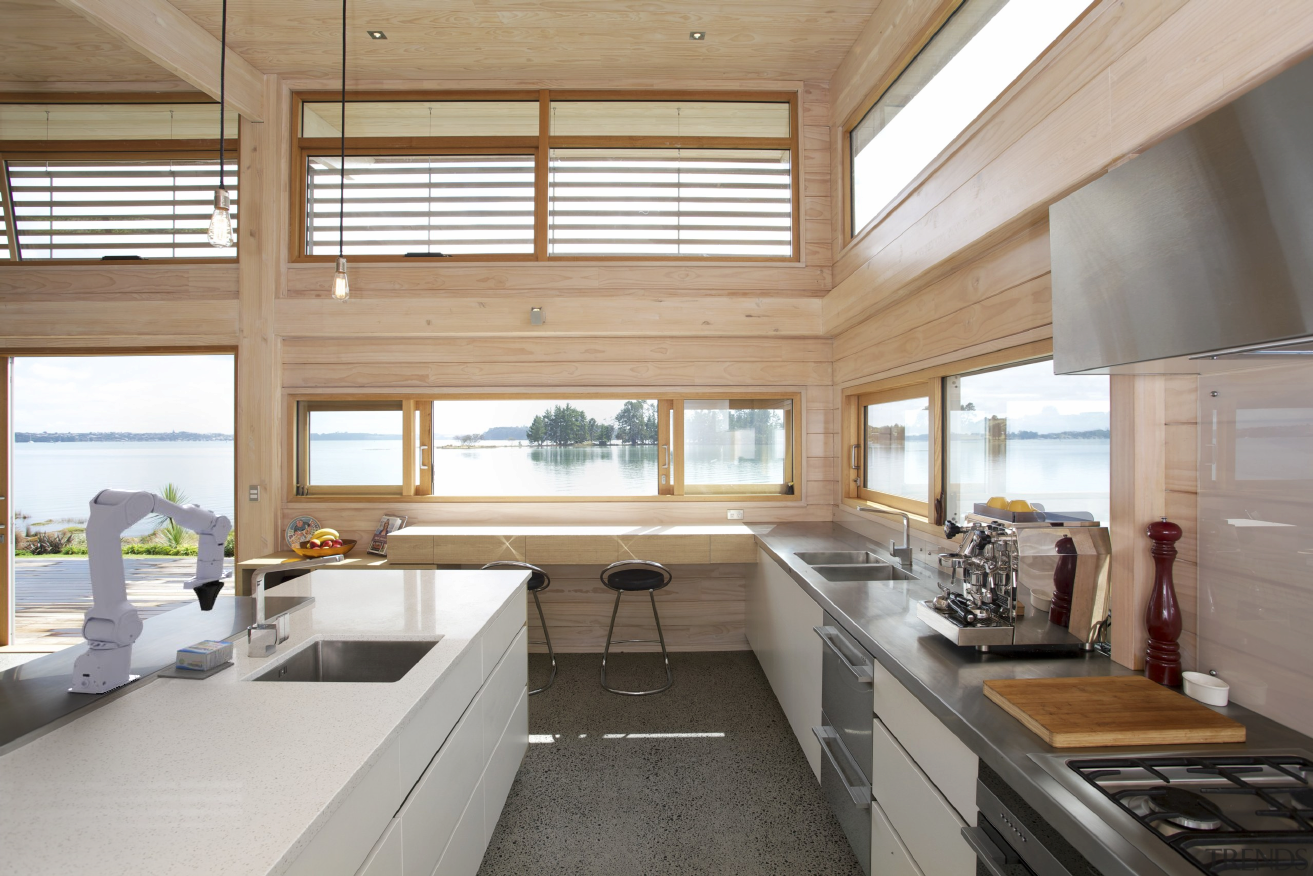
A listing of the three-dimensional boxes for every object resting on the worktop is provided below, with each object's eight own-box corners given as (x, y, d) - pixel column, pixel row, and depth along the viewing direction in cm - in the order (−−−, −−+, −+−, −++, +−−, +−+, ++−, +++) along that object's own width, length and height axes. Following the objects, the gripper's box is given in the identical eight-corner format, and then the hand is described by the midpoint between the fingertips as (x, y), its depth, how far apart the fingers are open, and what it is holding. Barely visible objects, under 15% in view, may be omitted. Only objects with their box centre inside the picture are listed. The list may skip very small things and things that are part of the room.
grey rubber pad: (203, 679, 139) (203, 677, 139) (157, 676, 140) (157, 674, 140) (234, 664, 149) (234, 662, 149) (191, 661, 150) (191, 659, 150)
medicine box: (234, 642, 152) (206, 653, 143) (233, 659, 151) (204, 671, 143) (206, 639, 152) (175, 650, 144) (204, 657, 152) (174, 668, 143)
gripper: (204, 565, 151) (200, 618, 151) (244, 555, 166) (240, 604, 165) (177, 563, 151) (172, 617, 151) (219, 553, 166) (215, 602, 166)
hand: (206, 610), depth 158 cm, fingers closed
